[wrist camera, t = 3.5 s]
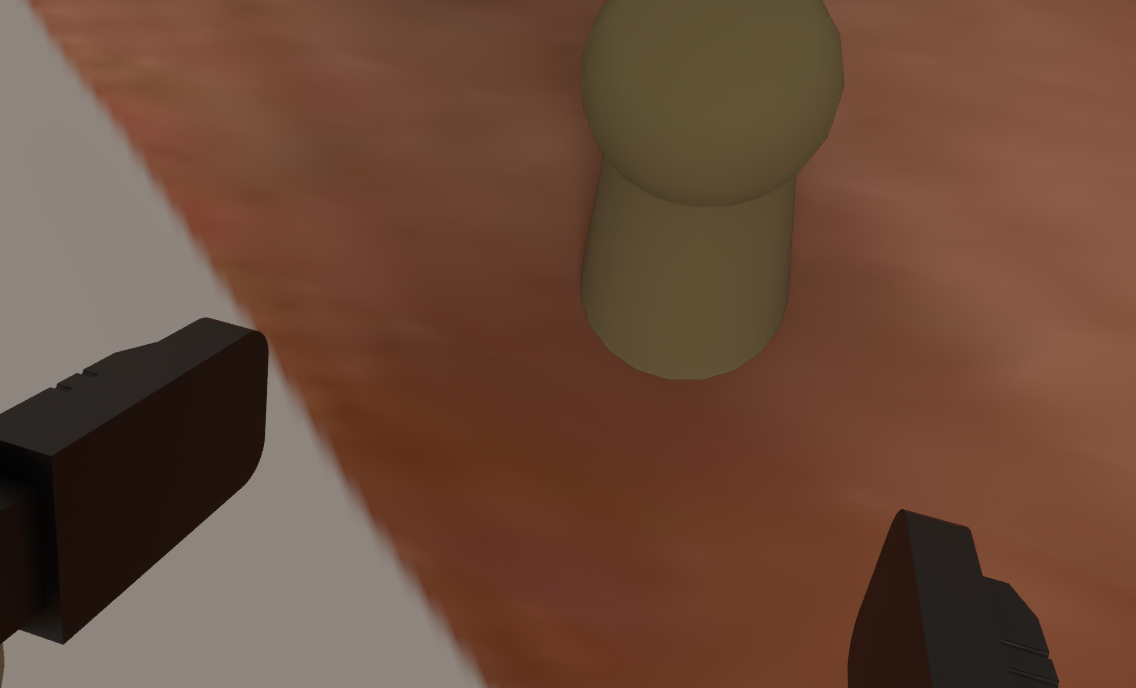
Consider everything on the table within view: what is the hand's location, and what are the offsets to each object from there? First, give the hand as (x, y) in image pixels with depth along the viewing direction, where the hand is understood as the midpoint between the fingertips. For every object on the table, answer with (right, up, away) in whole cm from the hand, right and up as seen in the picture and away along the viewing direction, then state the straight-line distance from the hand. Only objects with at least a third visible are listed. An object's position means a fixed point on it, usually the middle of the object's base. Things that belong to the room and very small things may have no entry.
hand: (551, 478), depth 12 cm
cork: (+4, +3, +16) cm, 17 cm away
